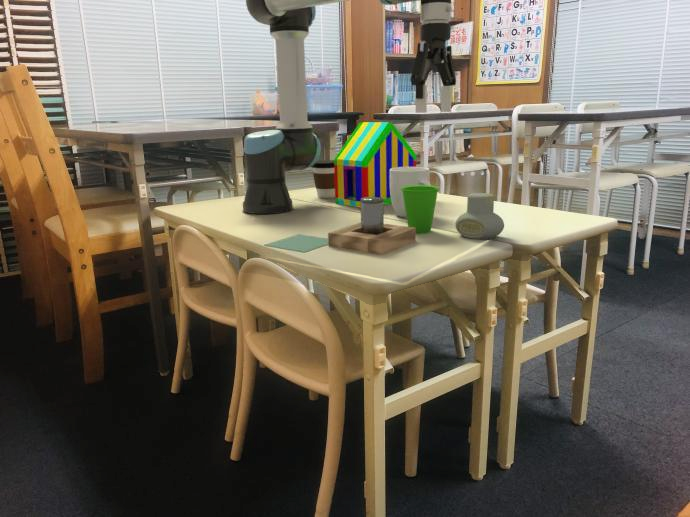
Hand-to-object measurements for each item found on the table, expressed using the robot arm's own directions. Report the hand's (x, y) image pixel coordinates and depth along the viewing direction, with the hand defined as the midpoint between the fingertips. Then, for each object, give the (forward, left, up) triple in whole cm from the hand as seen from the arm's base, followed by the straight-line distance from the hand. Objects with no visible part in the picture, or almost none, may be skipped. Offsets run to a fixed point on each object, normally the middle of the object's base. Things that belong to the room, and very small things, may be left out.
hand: (433, 112), depth 142 cm
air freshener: (+20, -14, -28) cm, 37 cm away
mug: (-6, 0, -28) cm, 29 cm away
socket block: (+3, -33, -28) cm, 44 cm away
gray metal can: (+3, -33, -28) cm, 43 cm away
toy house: (-29, +17, -28) cm, 44 cm away
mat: (-11, -41, -28) cm, 51 cm away
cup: (+6, -17, -28) cm, 34 cm away
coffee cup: (-48, +15, -28) cm, 58 cm away
